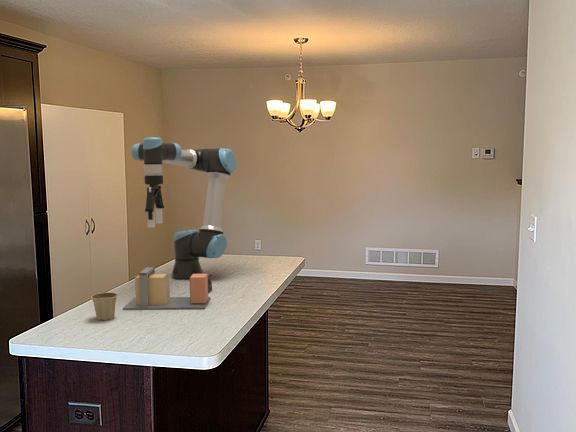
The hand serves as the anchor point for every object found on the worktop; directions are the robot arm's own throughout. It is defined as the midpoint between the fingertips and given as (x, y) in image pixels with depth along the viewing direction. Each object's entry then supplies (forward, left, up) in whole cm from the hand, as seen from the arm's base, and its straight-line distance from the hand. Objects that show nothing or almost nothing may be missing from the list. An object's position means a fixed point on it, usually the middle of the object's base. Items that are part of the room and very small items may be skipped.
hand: (155, 225), depth 233 cm
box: (-9, +18, -31) cm, 37 cm away
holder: (+12, +7, -31) cm, 34 cm away
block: (+12, +20, -30) cm, 37 cm away
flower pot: (+31, -12, -31) cm, 45 cm away
